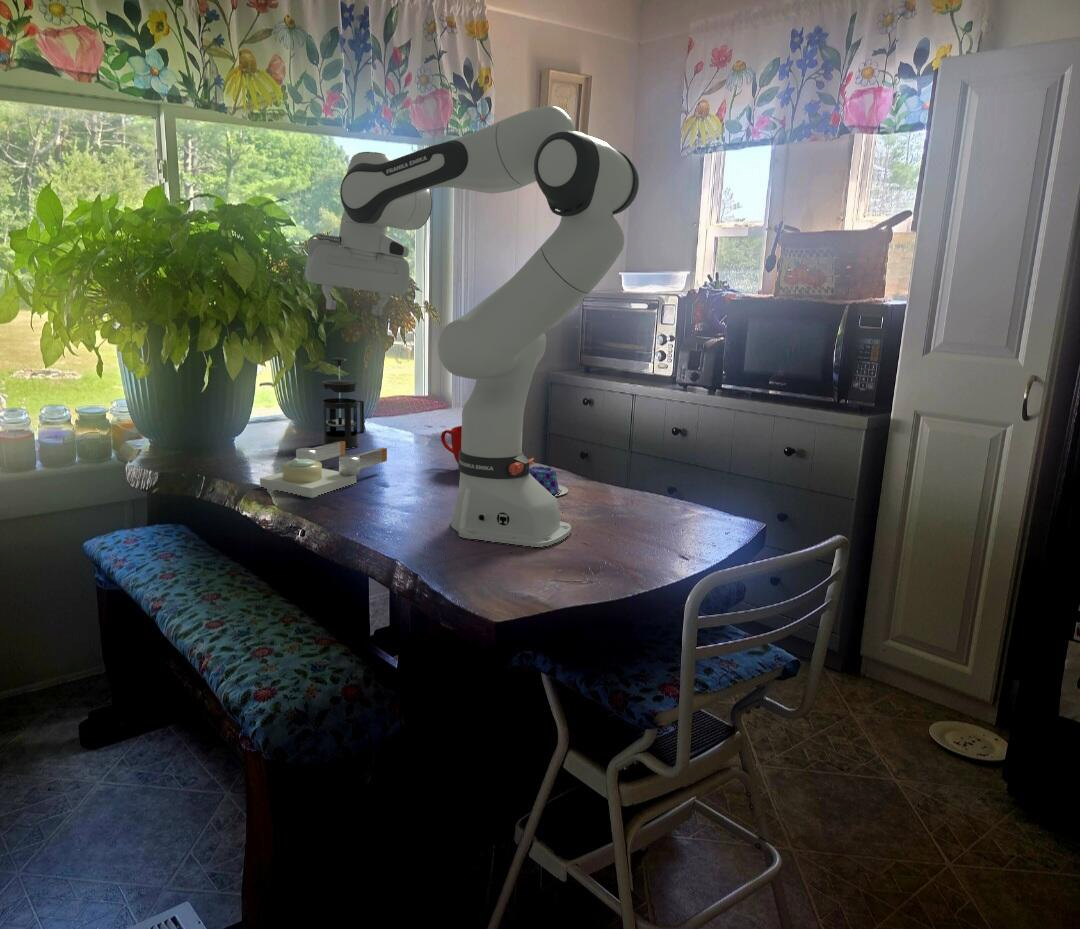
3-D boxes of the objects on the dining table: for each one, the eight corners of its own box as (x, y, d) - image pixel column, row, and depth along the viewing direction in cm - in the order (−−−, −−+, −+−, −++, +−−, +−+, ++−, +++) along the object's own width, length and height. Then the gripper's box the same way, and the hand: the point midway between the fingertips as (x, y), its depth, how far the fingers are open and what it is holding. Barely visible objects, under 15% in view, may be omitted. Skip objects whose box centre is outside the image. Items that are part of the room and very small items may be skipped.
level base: (356, 483, 176) (356, 455, 175) (312, 497, 164) (311, 467, 162) (306, 474, 182) (305, 446, 181) (260, 487, 170) (259, 458, 168)
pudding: (552, 503, 169) (553, 478, 168) (503, 493, 175) (503, 470, 173) (577, 490, 179) (578, 468, 178) (530, 482, 185) (531, 460, 184)
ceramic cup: (456, 460, 202) (457, 420, 199) (515, 470, 194) (516, 429, 192) (425, 470, 190) (426, 428, 188) (486, 481, 183) (487, 438, 181)
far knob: (307, 469, 177) (307, 453, 177) (292, 466, 179) (291, 450, 178) (350, 456, 190) (350, 441, 190) (336, 454, 192) (335, 439, 191)
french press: (329, 451, 205) (327, 360, 200) (313, 444, 212) (311, 356, 207) (371, 446, 212) (370, 359, 207) (354, 440, 219) (353, 355, 214)
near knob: (351, 477, 172) (350, 460, 172) (334, 474, 174) (334, 457, 173) (392, 464, 185) (392, 448, 184) (377, 461, 187) (376, 446, 186)
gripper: (313, 232, 148) (306, 307, 152) (416, 250, 159) (407, 320, 163) (304, 230, 153) (297, 303, 157) (404, 247, 165) (395, 315, 168)
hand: (354, 312), depth 160 cm, fingers open, 8 cm apart
